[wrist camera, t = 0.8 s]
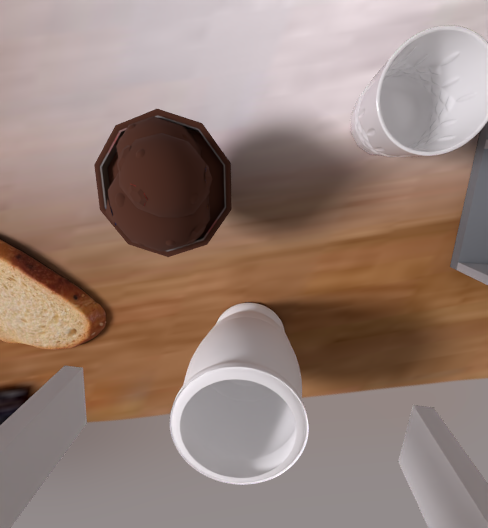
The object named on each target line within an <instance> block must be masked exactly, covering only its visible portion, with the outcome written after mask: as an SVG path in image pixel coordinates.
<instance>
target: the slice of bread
mask: <svg viewBox="0 0 488 528" xmlns="http://www.w3.org/2000/svg"><path fill="white" fill-rule="evenodd" d="M105 325H106V313H105V311H104V309H103V308H102V307H101V305H100V304H98V303H97V302H95V301H94V300H93V299H92V298H91V297H90V296H89V295H87V294H86V293H85V292H84V291H83V290H82V289H81V288H79V287H77V286H75V285H74V284H73V283H71V282H70V281H69V280H67V279H66V278H63V277H61V276H60V275H58V274H57V273H56V272H54V271H52V270H51V269H49V268H47V267H46V266H44V265H43V264H41V263H40V262H38V261H37V260H35V259H33V258H32V257H30V256H28V255H27V254H25V253H24V252H22V251H20V250H18V249H16V248H14V247H12V246H11V245H9V244H7V243H6V242H4V241H2V240H0V340H3V341H5V342H9V343H24V344H28V345H32V346H35V347H37V348H42V349H64V348H73V347H76V346H78V345H81V344H83V343H85V342H87V341H89V340H91V339H93V338H94V337H96V336H97V335H98V334H99V333H100V332H101V331H102V330H103V329H104V327H105Z"/></svg>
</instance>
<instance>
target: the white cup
mask: <svg viewBox="0 0 488 528" xmlns="http://www.w3.org/2000/svg"><path fill="white" fill-rule="evenodd" d="M487 121H488V42H487V41H486V40H485V39H484V38H483V37H482V36H480V35H479V34H477V33H476V32H474V31H472V30H470V29H468V28H465V27H461V26H454V25H444V26H437V27H433V28H429V29H427V30H424V31H422V32H420V33H418V34H416V35H414V36H413V37H411V38H410V39H408V40H407V41H406V42H405V43H404V44H402V45H401V46H400V47H399V48H398V49H397V50H396V52H395V53H394V54H393V55H392V56H391V58H390V59H389V60H388V61H387V62H386V63H385V65H384V66H383V67H382V68H381V69H380V70H379V72H378V73H377V74H376V75H375V76H374V77H373V79H372V80H371V82H370V83H369V84H368V85H367V87H366V88H365V90H364V91H363V93H362V94H361V95H360V97H359V98H358V99H357V101H356V103H355V106H354V108H353V111H352V113H351V133H352V135H353V137H354V139H355V141H356V143H357V145H358V146H359V147H360V148H362V149H363V150H364V151H366V152H367V153H369V154H370V155H378V156H386V157H413V156H433V155H440V154H444V153H448V152H450V151H453V150H455V149H457V148H459V147H461V146H463V145H464V144H466V143H467V142H468V141H470V140H471V139H472V138H473V137H475V136H476V135H477V134H478V133H479V132H480V130H481V129H482V128H483V127H484V126H485V124H486V123H487Z"/></svg>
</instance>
